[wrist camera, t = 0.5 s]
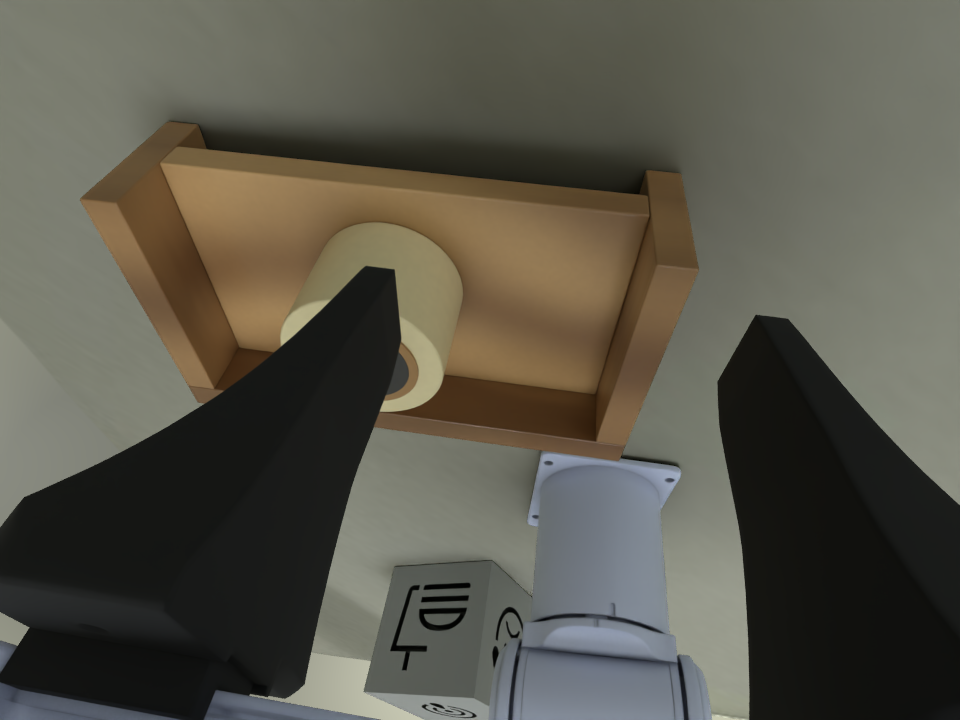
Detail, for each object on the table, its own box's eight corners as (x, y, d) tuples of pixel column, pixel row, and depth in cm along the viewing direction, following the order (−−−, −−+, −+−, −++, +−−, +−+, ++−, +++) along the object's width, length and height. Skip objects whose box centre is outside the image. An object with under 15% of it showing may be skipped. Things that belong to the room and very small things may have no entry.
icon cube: (394, 567, 50) (363, 691, 44) (491, 560, 46) (473, 698, 39) (448, 606, 56) (428, 721, 50) (539, 604, 52) (530, 729, 45)
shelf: (616, 368, 26) (619, 462, 23) (247, 321, 28) (197, 402, 24) (681, 173, 19) (699, 269, 15) (166, 120, 20) (78, 198, 17)
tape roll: (462, 341, 22) (444, 424, 20) (333, 325, 23) (298, 404, 20) (464, 230, 18) (440, 315, 16) (307, 212, 19) (257, 292, 16)
